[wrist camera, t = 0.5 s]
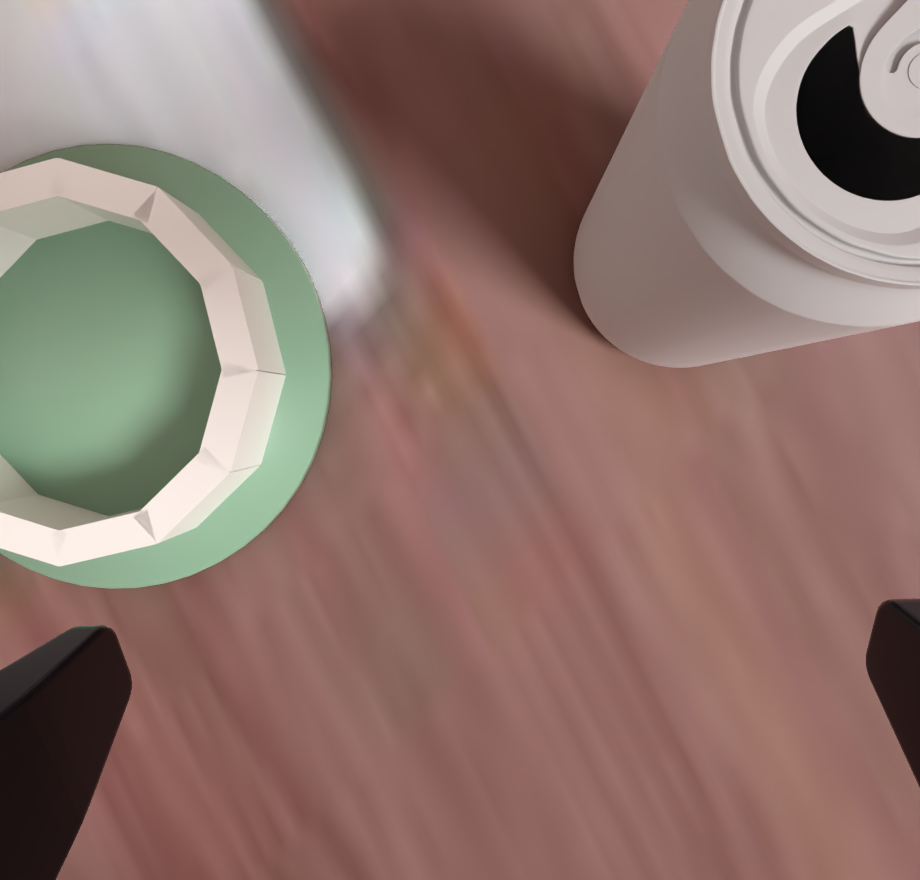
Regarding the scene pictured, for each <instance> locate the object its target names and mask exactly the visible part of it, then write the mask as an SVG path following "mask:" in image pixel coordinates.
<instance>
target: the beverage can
mask: <svg viewBox="0 0 920 880" xmlns="http://www.w3.org/2000/svg"><path fill="white" fill-rule="evenodd" d="M574 277H575V282H576V286H577V289H578V293H579V296H580V299H581V302H582V305H583V307H584V309H585V311H586V313H587V315H588V316H589V318H590V320H591V321H592V323H593V324H594V326H595V327H596V328H597V329H598V331H599V332H600V333H601V334H602V335H603V336H604V337H605V338H606V339H607V340H608V341H609V342H610V343H612V344H613V345H614V346H616V347H617V348H618V349H620V350H621V351H623V352H624V353H626V354H628V355H630V356H632V357H634V358H636V359H638V360H641V361H643V362H647V363H650V364H653V365H658V366H664V367H672V368H687V367H696V366H702V365H707V364H711V363H716V362H721V361H726V360H731V359H736V358H741V357H746V356H751V355H756V354H761V353H765V352H770V351H775V350H780V349H785V348H790V347H795V346H800V345H805V344H810V343H814V342H819V341H824V340H829V339H834V338H839V337H844V336H849V335H854V334H859V333H863V332H868V331H873V330H878V329H883V328H888V327H893V326H898V325H903V324H908V323H912V322H917V321H920V0H689V2H688V4H687V5H686V7H685V9H684V11H683V13H682V15H681V17H680V19H679V21H678V23H677V25H676V27H675V29H674V31H673V33H672V35H671V37H670V39H669V41H668V43H667V45H666V47H665V49H664V51H663V53H662V55H661V58H660V60H659V62H658V64H657V66H656V68H655V70H654V72H653V74H652V76H651V78H650V80H649V82H648V84H647V86H646V88H645V91H644V93H643V95H642V97H641V99H640V101H639V103H638V105H637V107H636V109H635V111H634V113H633V115H632V117H631V119H630V121H629V124H628V126H627V128H626V130H625V132H624V134H623V136H622V138H621V140H620V142H619V144H618V146H617V148H616V150H615V152H614V154H613V157H612V159H611V161H610V163H609V165H608V167H607V169H606V171H605V173H604V175H603V177H602V179H601V181H600V183H599V185H598V187H597V190H596V192H595V194H594V196H593V198H592V200H591V202H590V204H589V206H588V208H587V210H586V212H585V214H584V216H583V219H582V221H581V224H580V227H579V230H578V233H577V236H576V242H575V248H574Z"/></svg>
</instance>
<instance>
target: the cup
mask: <svg viewBox="0 0 920 880" xmlns="http://www.w3.org/2000/svg"><path fill="white" fill-rule="evenodd" d="M331 386H332V361H331V346H330V340H329V335H328V329H327V323H326V319H325V315H324V312H323V309H322V306H321V303H320V299H319V296H318V293H317V291H316V288H315V286H314V284H313V282H312V280H311V278H310V275H309V273H308V271H307V269H306V267H305V265H304V263H303V262H302V260H301V258H300V257H299V255H298V254H297V252H296V251H295V249H294V247H293V246H292V244H291V243H290V241H289V240H288V239H287V237H286V236H285V235H284V234H283V233H282V231H281V230H280V229H279V228H278V227H277V225H276V224H275V223H274V222H273V221H272V219H271V218H270V217H269V216H268V215H266V214H265V213H264V212H263V211H262V210H261V209H260V208H259V207H258V206H257V205H256V204H255V203H254V202H252V201H251V200H250V199H249V198H248V197H247V196H246V195H244V194H243V193H242V192H241V191H239V190H238V189H236V188H235V187H234V186H232V185H231V184H229V183H228V182H226V181H225V180H224V179H222V178H221V177H219V176H218V175H216V174H214V173H212V172H210V171H208V170H206V169H204V168H203V167H201V166H199V165H197V164H195V163H193V162H190V161H188V160H185V159H182V158H179V157H177V156H174V155H171V154H168V153H166V152H161V151H157V150H152V149H147V148H143V147H138V146H127V145H114V144H102V145H85V146H77V147H72V148H67V149H62V150H57V151H52V152H49V153H46V154H43V155H40V156H38V157H35V158H32V159H29V160H26V161H24V162H22V163H20V164H18V165H16V166H14V167H12V168H10V169H8V170H6V171H4V172H2V173H0V553H1V554H2V555H4V556H6V557H7V558H9V559H11V560H13V561H15V562H17V563H18V564H20V565H22V566H24V567H26V568H28V569H30V570H33V571H35V572H38V573H40V574H43V575H46V576H48V577H51V578H53V579H57V580H61V581H65V582H69V583H73V584H77V585H81V586H90V587H100V588H139V587H145V586H151V585H157V584H164V583H167V582H170V581H174V580H177V579H180V578H184V577H187V576H190V575H193V574H195V573H197V572H199V571H201V570H204V569H206V568H208V567H210V566H212V565H215V564H217V563H218V562H220V561H222V560H224V559H225V558H227V557H228V556H230V555H231V554H233V553H235V552H236V551H238V550H239V549H241V548H243V547H244V546H246V545H247V544H248V543H250V542H251V541H252V540H253V539H254V538H255V537H257V536H258V535H259V534H260V533H261V532H263V531H264V530H265V529H266V528H267V527H268V526H269V525H270V524H271V523H272V522H273V521H274V520H275V519H276V518H277V516H278V515H279V514H280V513H281V512H282V511H283V510H284V509H285V508H286V506H287V505H288V504H289V502H290V501H291V499H292V498H293V496H294V495H295V493H296V492H297V491H298V489H299V488H300V486H301V485H302V483H303V481H304V479H305V477H306V475H307V473H308V471H309V469H310V467H311V465H312V463H313V461H314V460H315V457H316V454H317V451H318V448H319V445H320V443H321V440H322V437H323V434H324V430H325V426H326V421H327V416H328V412H329V407H330V398H331Z"/></svg>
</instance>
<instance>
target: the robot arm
mask: <svg viewBox="0 0 920 880" xmlns="http://www.w3.org/2000/svg"><path fill="white" fill-rule="evenodd" d="M866 667H867V671H868V675H869V678H870V680H871V682H872V684H873V687H874V689H875V691H876V693H877V695H878V698H879V700H880V702H881V704H882V706H883V708H884V711H885V713H886V715H887V717H888V719H889V722H890V724H891V726H892V728H893V730H894V732H895V735H896V737H897V739H898V741H899V743H900V746H901V748H902V750H903V752H904V754H905V756H906V759H907V761H908V763H909V765H910V767H911V770H912V772H913V774H914V776H915V778H916V780H917V783H918V785H919V787H920V599H893V600H887V601H884V602H883V603H881V605H880V606H879V607H878V610H877V613H876V617H875V621H874V625H873V629H872V633H871V637H870V641H869V645H868V649H867V653H866ZM131 689H132V680H131V674H130V671H129V668H128V666H127V663H126V660H125V658H124V655H123V652H122V649H121V647H120V644H119V641H118V638H117V636H116V634H115V632H114V631H113V630H112V629H111V628H110V627H108V626H104V625H100V626H78V627H74V628H71V629H69V630H67V631H66V632H64V633H62V634H61V635H59V636H57V637H56V638H54V639H52V640H50V641H49V642H47V643H45V644H44V645H42V646H40V647H39V648H37V649H35V650H34V651H32V652H30V653H29V654H27V655H25V656H24V657H22V658H20V659H18V660H17V661H15V662H13V663H12V664H10V665H8V666H7V667H5V668H3V669H2V670H0V880H56V877H57V875H58V873H59V871H60V869H61V867H62V865H63V863H64V861H65V859H66V857H67V855H68V853H69V851H70V848H71V846H72V844H73V842H74V840H75V838H76V835H77V833H78V831H79V829H80V827H81V824H82V822H83V820H84V817H85V815H86V812H87V810H88V807H89V805H90V803H91V800H92V797H93V795H94V792H95V789H96V787H97V784H98V781H99V779H100V776H101V773H102V771H103V768H104V765H105V762H106V760H107V757H108V754H109V752H110V749H111V746H112V744H113V741H114V738H115V736H116V733H117V730H118V728H119V725H120V722H121V720H122V717H123V714H124V712H125V709H126V706H127V703H128V701H129V698H130V694H131Z"/></svg>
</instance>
